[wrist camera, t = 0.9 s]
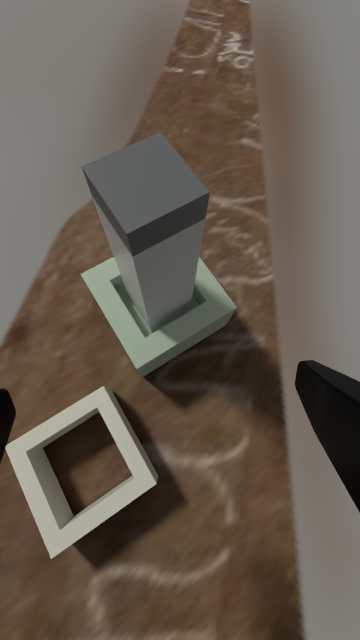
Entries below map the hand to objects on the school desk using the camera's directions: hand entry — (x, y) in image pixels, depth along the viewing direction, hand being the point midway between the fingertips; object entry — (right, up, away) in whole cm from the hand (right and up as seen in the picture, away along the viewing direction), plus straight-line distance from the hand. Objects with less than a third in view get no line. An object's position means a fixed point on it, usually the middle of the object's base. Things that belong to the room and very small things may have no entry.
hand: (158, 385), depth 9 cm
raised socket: (-1, +3, +15) cm, 15 cm away
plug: (-1, +3, +13) cm, 14 cm away
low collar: (-6, -8, +11) cm, 15 cm away
